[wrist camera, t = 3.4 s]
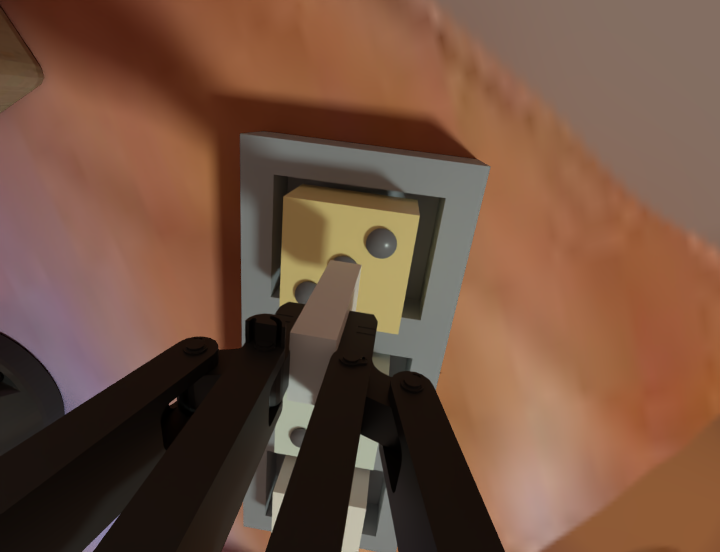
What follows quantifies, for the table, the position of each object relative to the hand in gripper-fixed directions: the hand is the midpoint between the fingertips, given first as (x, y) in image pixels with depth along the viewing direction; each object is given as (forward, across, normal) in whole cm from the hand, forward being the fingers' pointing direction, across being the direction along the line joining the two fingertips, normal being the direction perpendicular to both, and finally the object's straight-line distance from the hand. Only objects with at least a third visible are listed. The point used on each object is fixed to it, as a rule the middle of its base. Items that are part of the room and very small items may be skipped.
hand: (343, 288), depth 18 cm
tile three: (+7, 0, 0) cm, 7 cm away
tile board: (+10, 0, -11) cm, 15 cm away
